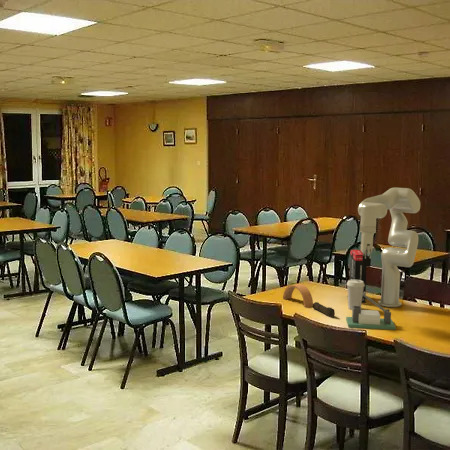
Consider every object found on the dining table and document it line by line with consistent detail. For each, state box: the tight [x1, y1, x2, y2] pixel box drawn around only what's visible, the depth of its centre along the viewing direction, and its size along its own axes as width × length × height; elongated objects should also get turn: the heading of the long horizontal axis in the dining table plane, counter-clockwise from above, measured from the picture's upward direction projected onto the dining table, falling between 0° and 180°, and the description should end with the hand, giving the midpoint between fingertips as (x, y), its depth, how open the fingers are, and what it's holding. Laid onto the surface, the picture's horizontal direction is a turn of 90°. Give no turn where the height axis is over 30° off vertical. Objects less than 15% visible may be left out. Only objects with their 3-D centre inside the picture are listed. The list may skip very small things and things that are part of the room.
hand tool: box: [312, 301, 336, 319], centre depth 315 cm, size 19×4×5 cm, turn 18°
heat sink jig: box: [345, 306, 397, 331], centre depth 296 cm, size 13×22×8 cm, turn 83°
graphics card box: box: [349, 249, 367, 304], centre depth 343 cm, size 17×7×27 cm, turn 179°
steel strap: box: [362, 291, 388, 313], centre depth 295 cm, size 3×16×2 cm
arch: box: [282, 283, 314, 308], centre depth 335 cm, size 6×20×10 cm, turn 30°
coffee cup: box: [346, 279, 365, 311], centre depth 324 cm, size 10×10×15 cm
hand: (366, 264), depth 303 cm, fingers open, 6 cm apart
